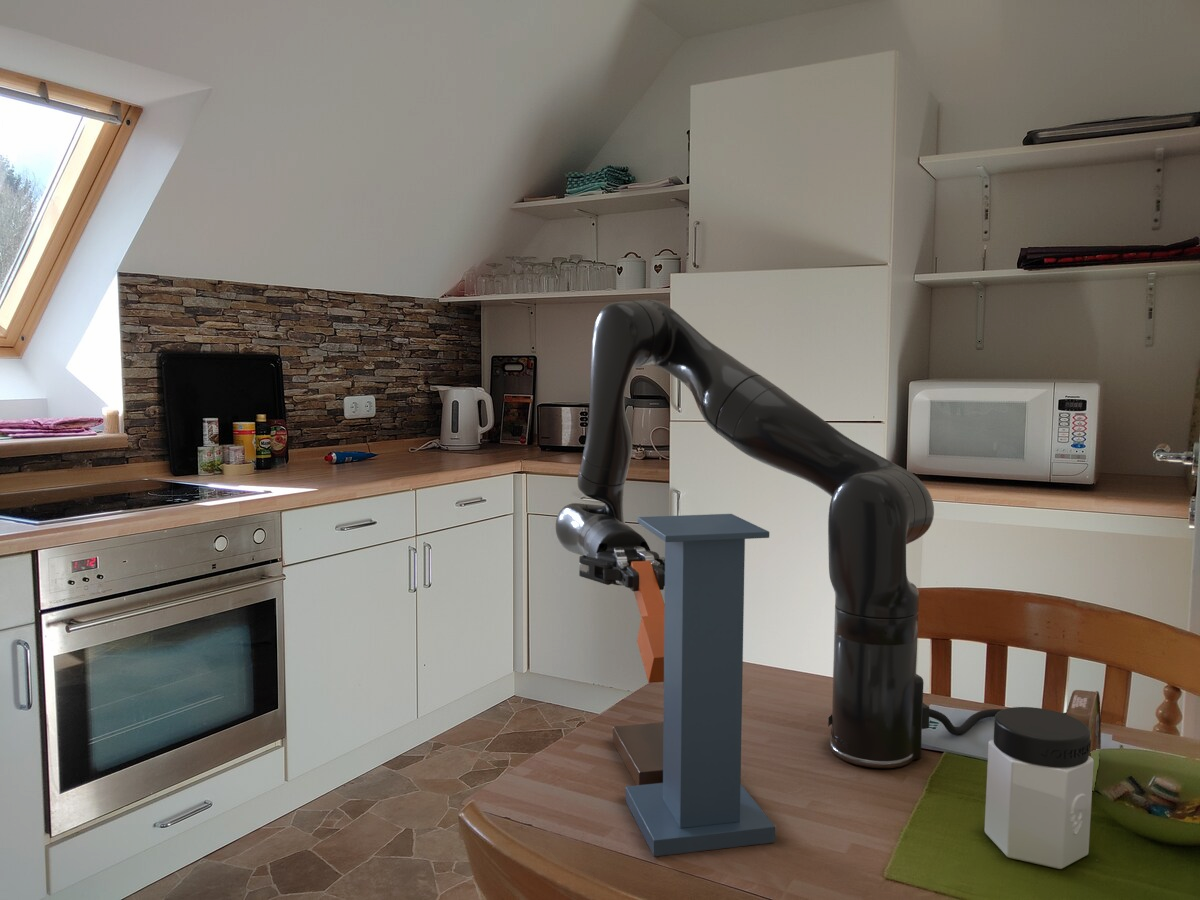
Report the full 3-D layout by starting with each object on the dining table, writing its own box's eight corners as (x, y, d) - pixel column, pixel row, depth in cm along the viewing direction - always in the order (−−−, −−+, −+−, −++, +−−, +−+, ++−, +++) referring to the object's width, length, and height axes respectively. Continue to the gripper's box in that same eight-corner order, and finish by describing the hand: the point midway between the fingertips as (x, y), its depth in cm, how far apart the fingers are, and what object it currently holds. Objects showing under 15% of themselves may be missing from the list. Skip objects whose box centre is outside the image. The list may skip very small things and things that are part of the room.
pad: (684, 736, 112) (684, 720, 112) (719, 782, 100) (719, 764, 100) (612, 742, 111) (612, 726, 110) (639, 790, 98) (639, 772, 98)
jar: (1049, 879, 82) (1056, 749, 81) (968, 839, 88) (973, 718, 87) (1103, 850, 87) (1111, 726, 85) (1023, 814, 93) (1028, 699, 92)
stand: (734, 789, 99) (739, 512, 96) (775, 842, 88) (782, 532, 85) (625, 801, 96) (626, 516, 93) (653, 856, 85) (656, 537, 82)
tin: (1091, 805, 95) (1096, 726, 94) (1057, 797, 97) (1061, 720, 96) (1102, 752, 108) (1106, 682, 107) (1072, 746, 110) (1075, 677, 109)
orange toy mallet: (657, 574, 113) (662, 550, 111) (692, 679, 100) (699, 655, 98) (618, 576, 112) (622, 551, 110) (648, 683, 99) (653, 658, 97)
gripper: (564, 525, 123) (590, 553, 106) (665, 521, 126) (706, 548, 109) (564, 580, 124) (590, 616, 107) (664, 575, 127) (705, 610, 110)
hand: (648, 582), depth 108 cm, fingers closed on orange toy mallet, 2 cm apart
